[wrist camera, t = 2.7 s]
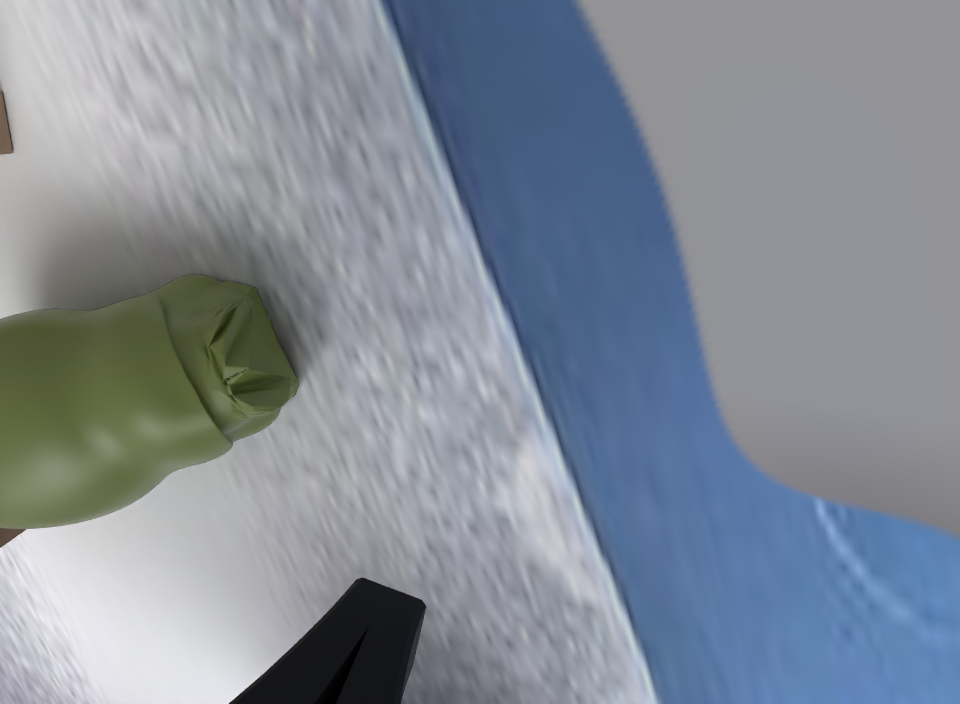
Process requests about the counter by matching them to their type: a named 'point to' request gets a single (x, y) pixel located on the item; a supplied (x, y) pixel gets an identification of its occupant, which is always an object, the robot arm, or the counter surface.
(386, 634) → the robot arm
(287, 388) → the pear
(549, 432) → the counter surface
